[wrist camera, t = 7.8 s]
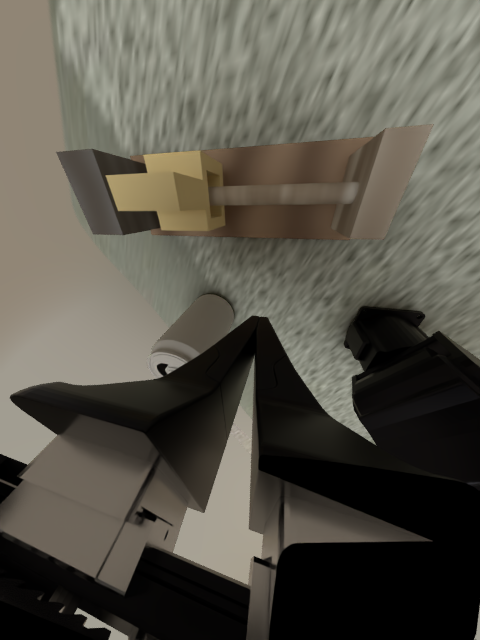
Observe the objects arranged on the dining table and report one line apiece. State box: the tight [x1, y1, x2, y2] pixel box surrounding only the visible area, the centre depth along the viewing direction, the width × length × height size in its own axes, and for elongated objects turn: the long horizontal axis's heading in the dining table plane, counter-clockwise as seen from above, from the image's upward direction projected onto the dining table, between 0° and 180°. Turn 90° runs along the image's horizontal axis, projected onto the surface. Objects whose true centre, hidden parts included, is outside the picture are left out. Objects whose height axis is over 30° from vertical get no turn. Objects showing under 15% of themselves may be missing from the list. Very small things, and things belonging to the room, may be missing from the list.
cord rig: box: [57, 124, 434, 240], centre depth 14 cm, size 22×7×8 cm, turn 91°
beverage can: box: [147, 294, 234, 379], centre depth 21 cm, size 6×6×12 cm
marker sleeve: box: [106, 150, 225, 231], centre depth 12 cm, size 4×4×8 cm
